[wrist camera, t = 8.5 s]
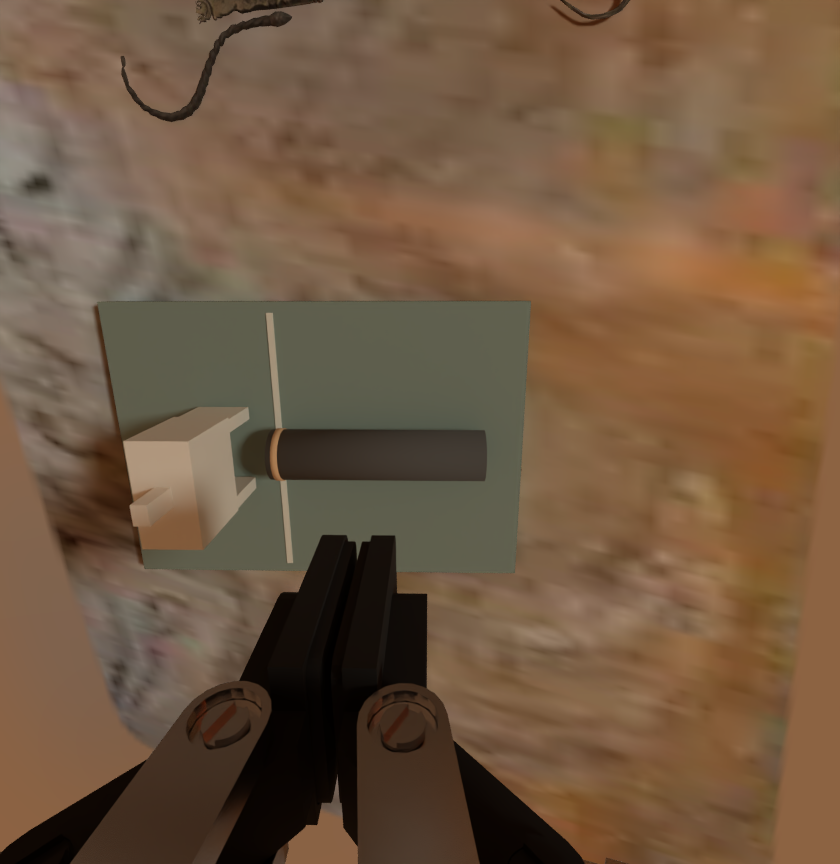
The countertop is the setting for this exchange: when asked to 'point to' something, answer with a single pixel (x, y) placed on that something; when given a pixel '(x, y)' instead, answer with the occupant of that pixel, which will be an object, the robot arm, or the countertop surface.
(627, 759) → the countertop surface
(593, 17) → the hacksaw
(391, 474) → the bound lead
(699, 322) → the countertop surface
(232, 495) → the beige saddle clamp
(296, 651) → the robot arm
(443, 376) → the cutting mat
